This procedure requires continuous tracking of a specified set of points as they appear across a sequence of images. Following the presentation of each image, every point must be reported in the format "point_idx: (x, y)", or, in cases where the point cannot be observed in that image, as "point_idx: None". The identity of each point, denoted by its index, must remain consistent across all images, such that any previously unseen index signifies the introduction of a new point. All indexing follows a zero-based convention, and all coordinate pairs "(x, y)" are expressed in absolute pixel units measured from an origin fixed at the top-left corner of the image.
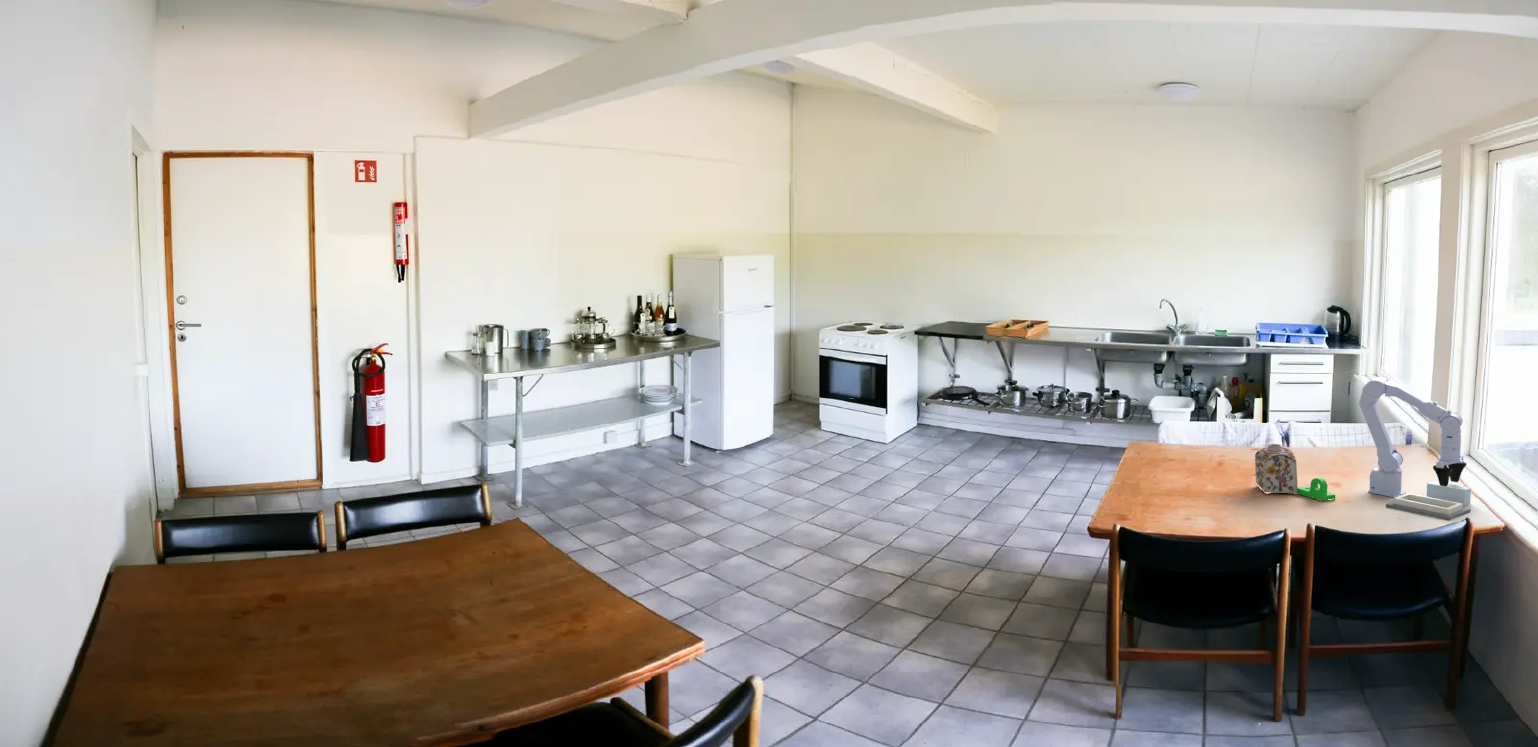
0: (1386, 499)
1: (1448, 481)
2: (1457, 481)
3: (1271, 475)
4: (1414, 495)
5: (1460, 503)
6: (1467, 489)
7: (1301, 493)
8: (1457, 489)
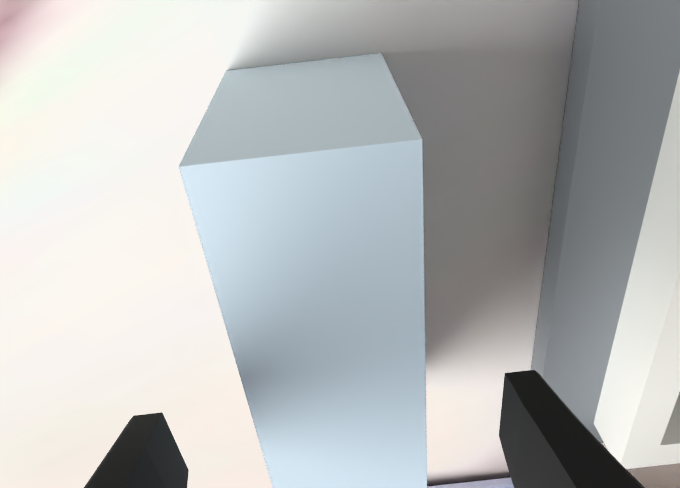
0: (634, 472)
1: (549, 438)
2: (159, 424)
3: None
4: (669, 414)
5: None
6: (324, 148)
7: None
8: (419, 250)
